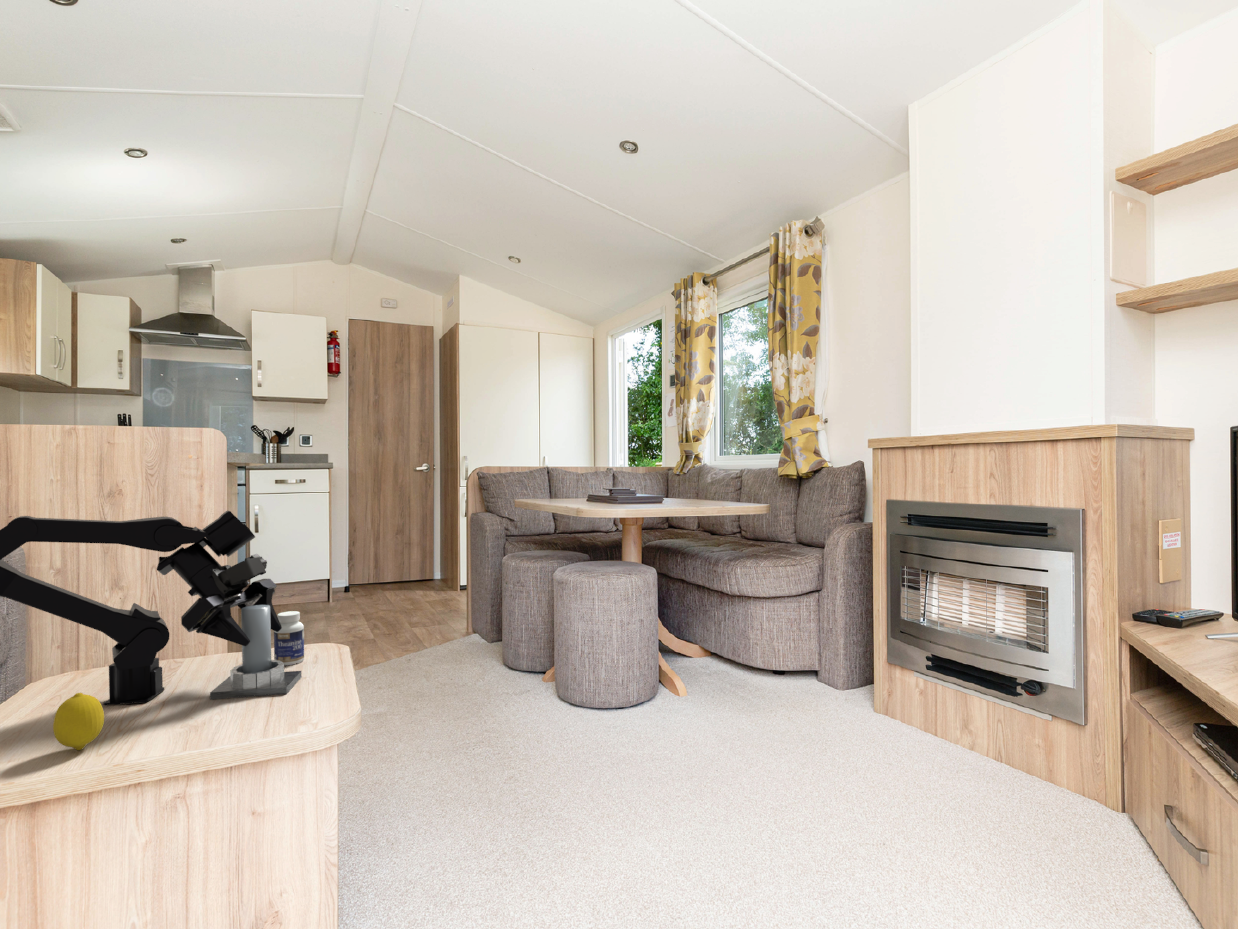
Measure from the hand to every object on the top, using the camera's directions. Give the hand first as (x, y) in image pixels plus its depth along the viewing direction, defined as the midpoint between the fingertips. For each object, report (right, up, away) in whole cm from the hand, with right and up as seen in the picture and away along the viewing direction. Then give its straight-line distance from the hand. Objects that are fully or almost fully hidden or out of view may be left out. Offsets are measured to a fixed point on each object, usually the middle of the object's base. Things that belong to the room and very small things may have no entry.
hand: (264, 636), depth 118 cm
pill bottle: (-3, -9, +15) cm, 18 cm away
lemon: (-13, -10, -24) cm, 29 cm away
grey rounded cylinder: (-1, -8, 0) cm, 8 cm away
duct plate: (-1, -9, 0) cm, 9 cm away
